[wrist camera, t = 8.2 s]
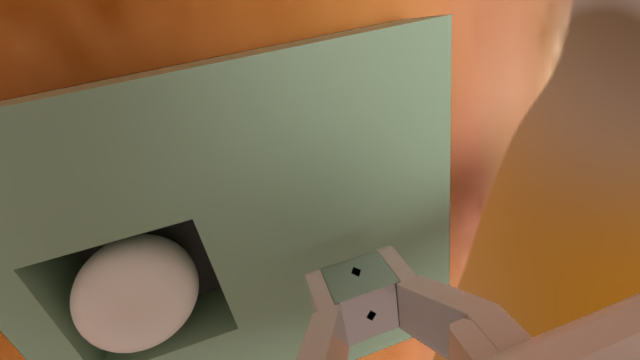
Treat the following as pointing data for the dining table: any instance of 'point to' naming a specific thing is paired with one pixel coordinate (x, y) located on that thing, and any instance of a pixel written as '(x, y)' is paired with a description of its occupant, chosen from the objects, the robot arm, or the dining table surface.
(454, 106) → the dining table surface
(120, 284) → the ball
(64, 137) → the putting deck
